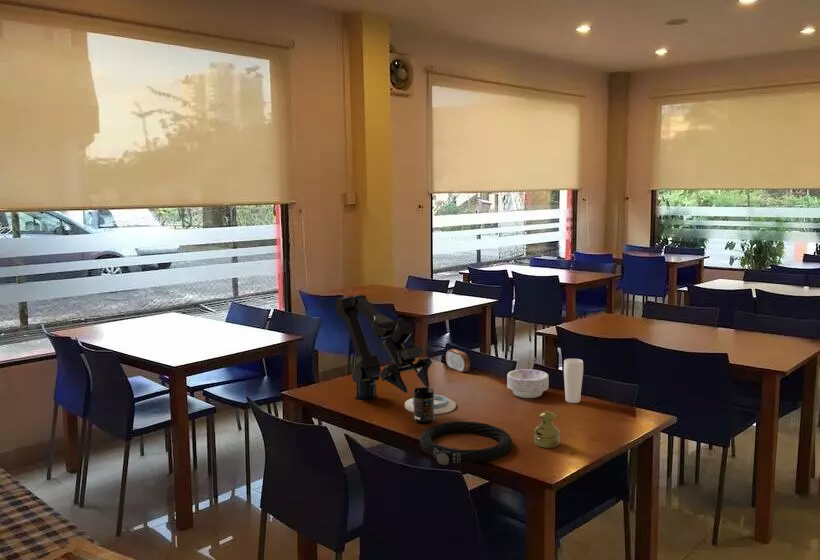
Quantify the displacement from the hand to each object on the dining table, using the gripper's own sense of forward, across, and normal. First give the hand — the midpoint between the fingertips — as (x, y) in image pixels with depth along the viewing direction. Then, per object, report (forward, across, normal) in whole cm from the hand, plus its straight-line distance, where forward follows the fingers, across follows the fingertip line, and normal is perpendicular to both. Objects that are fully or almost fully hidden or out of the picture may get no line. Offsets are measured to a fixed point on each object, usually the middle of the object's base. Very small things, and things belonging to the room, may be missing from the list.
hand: (417, 389), depth 229 cm
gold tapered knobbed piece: (+38, +15, -23) cm, 47 cm away
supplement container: (+9, 0, +5) cm, 11 cm away
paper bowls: (+10, +48, +4) cm, 50 cm away
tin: (-20, +52, +34) cm, 66 cm away
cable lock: (+28, -6, -13) cm, 31 cm away
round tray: (+2, +11, +12) cm, 17 cm away
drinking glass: (+22, +55, -7) cm, 59 cm away
